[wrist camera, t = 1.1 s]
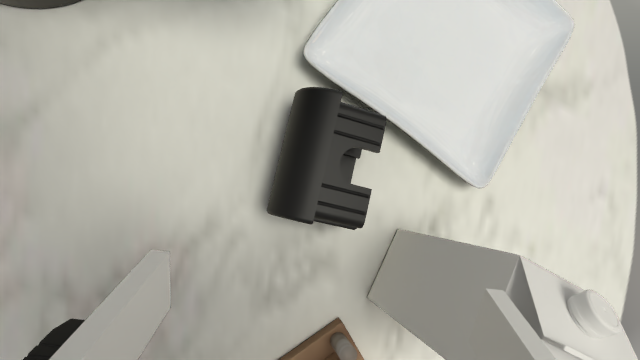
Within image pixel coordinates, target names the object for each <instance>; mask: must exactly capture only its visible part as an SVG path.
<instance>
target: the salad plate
mask: <svg viewBox="0 0 640 360" xmlns="http://www.w3.org/2000/svg"><path fill="white" fill-rule="evenodd" d="M573 29H574V20H573V18H572V17H571V16H570V15H569V14H568V13H567V11H566V10H565V9H564V8H563V7H562V6H561V5H559V4H558V3H557V1H555V0H337V2H336V3H335V4H334V5H333V7H332V8H331V9H330V10H329V12H328V13H327V14H326V16H325V17H324V18H323V19H322V21H321V22H320V23H319V25H318V26H317V28H316V29H315V31H314V32H313V33H312V35H311V36H310V38H309V39H308V41H307V43H306V45H305V47H304V52H303V54H304V57H305V58H306V60H307V61H308V63H309V64H311V65H312V66H313V67H314V68H315V69H317V70H318V71H319V72H320V73H322V74H323V75H324V76H326V77H327V78H328V79H330V80H331V81H333V82H334V83H336V84H337V85H339V86H340V87H342V88H343V89H344V90H346V91H347V92H349V93H350V94H352V95H353V96H355V97H356V98H358V99H359V100H361V101H362V102H364V103H365V104H367V105H368V106H370V107H371V108H373V109H374V110H375V111H377V112H378V113H380V114H381V115H384V116H386V118H387V119H388V120H389V121H391V122H392V123H393V124H395V125H396V126H397V127H399V128H400V129H401V130H403V131H404V132H405V133H407V134H408V135H409V136H411V137H412V138H413V139H414V140H416V141H417V142H418V143H419V144H421V145H422V146H423V147H424V148H426V149H427V150H428V151H429V152H430V153H432V154H433V155H434V156H435V157H436V158H438V159H439V160H440V161H441V162H442V163H444V164H445V165H446V166H447V167H449V168H450V169H451V170H452V171H453V172H454V173H456V174H457V175H458V176H459V177H461V178H462V179H463V180H465V181H466V182H467V183H469V184H470V185H472V186H473V187H476V188H484V187H485V186H487V185H488V183H489V182H490V181H491V179H492V177H493V176H494V174H495V172H496V170H497V169H498V167H499V165H500V163H501V161H502V160H503V158H504V156H505V154H506V152H507V150H508V148H509V147H510V145H511V143H512V141H513V139H514V137H515V135H516V134H517V132H518V130H519V128H520V126H521V124H522V123H523V121H524V119H525V117H526V115H527V113H528V111H529V109H530V108H531V106H532V104H533V102H534V100H535V99H536V97H537V95H538V93H539V91H540V90H541V88H542V86H543V84H544V83H545V81H546V79H547V77H548V76H549V74H550V72H551V70H552V69H553V67H554V65H555V64H556V62H557V60H558V59H559V57H560V55H561V53H562V52H563V50H564V48H565V47H566V45H567V43H568V41H569V39H570V37H571V35H572V32H573Z"/></svg>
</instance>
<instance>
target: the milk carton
mask: <svg viewBox="0 0 640 360" xmlns="http://www.w3.org/2000/svg"><path fill="white" fill-rule="evenodd" d="M486 288H487V289H495V290H504V292H505V293H506V294H507V296H508V297H509V298H510V300H511V301H512V302H513V303H514V305H515V306H516V307H517V309H518V310H519V311H520V313H521V314H522V315H523V317H524V318H525V319H526V321H527V322H528V323H529V324H530V326H531V327H532V328H533V330H534V331H535V332H536V334H537V335H538V336H539V338H540V339H541V340H542V342H543V343H544V344H545V346H546V347H547V348H548V349H549V351H550V352H551V353H552V355H553V356H554V357H555V359H556V360H638V359H637V356H636V354H635V352H634V350H633V348H632V346H631V344H630V342H629V339H628V337H627V336H626V333H625V331H624V329H623V327H622V325H621V323H620V320H619V318H618V316H617V314H616V312H615V310H614V308H613V307H612V306H611V305H610V303H609V302H608V301H607V300H606V299H605V298H604V297H603V296H601V295H600V294H599V293H597V292H595V291H593V290H583V289H581V288H580V287H578V286H576V285H574V284H572V283H570V282H569V281H567V280H565V279H563V278H561V277H560V276H558V275H556V274H554V273H552V272H551V271H549V270H547V269H545V268H543V267H541V266H540V265H538V264H536V263H534V262H532V261H530V260H528V259H527V258H525V257H522V256H520V255H517V254H512V253H508V252H504V251H499V250H494V249H490V248H485V247H481V246H476V245H471V244H467V243H462V242H457V241H453V240H448V239H443V238H439V237H434V236H430V235H425V234H420V233H416V232H411V231H406V230H402V229H398V230H397V232H396V235H395V237H394V239H393V241H392V243H391V246H390V248H389V250H388V252H387V255H386V257H385V259H384V261H383V263H382V266H381V268H380V270H379V272H378V275H377V277H376V279H375V281H374V283H373V286H372V288H371V290H370V292H369V295H368V297H367V298H368V299H369V300H370V301H372V302H373V303H374V304H375V305H377V306H378V307H379V308H381V309H382V310H383V311H384V312H386V313H387V314H388V315H389V316H391V317H392V318H393V319H395V320H396V321H397V322H398V323H400V324H401V325H402V326H403V327H405V328H406V329H407V330H409V331H410V332H411V333H412V334H414V335H415V336H416V337H417V338H419V339H420V340H421V341H423V342H424V343H425V344H426V345H428V346H429V347H430V348H431V349H433V350H434V351H435V352H437V353H438V354H439V355H440V356H442V357H443V358H444V359H445V360H478V359H477V357H476V355H475V353H474V351H473V349H472V347H471V345H470V343H469V338H470V335H471V332H472V329H473V326H474V322H475V319H476V316H477V313H478V310H479V307H480V304H481V301H482V298H483V295H484V292H485V289H486Z"/></svg>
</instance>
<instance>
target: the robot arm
mask: <svg viewBox="0 0 640 360" xmlns="http://www.w3.org/2000/svg"><path fill="white" fill-rule="evenodd" d="M77 1H80V0H0V3H1V4H5V5H10V6H15V7H23V8H51V7H58V6H63V5H67V4H71V3H74V2H77ZM170 308H171V285H170V251H161V250H153V249H151V250H150V251H149V252H148V253H147V254H146V255H145V256H144V258H143V259H142V260H141V261H140V262H139V263H138V264H137V265H136V266H135V267H134V268H133V269H132V270H131V272H130V273H129V274H128V275H127V276H126V277H125V278H124V279H123V280H122V281H121V282H120V283H119V285H118V286H117V287H116V288H115V289H114V290H113V291H112V292H111V293H110V294H109V295H108V296H107V297H106V299H105V300H104V301H103V302H102V303H101V304H100V305H99V306H98V307H97V308H96V309H95V310H94V312H93V313H92V314H91V315H90V316H89V317H88V318H87V319H86V320H78V319H70V320H68V321H66V322H65V323H63V324H61V325H60V326H58V327H56V328H55V329H53V330H52V331H51V332H50V333H49V334H48V335H47V336H46V337H45V338H44V339H43V340H42V341H41V342H40V343H39V345H38V346H36V347H35V348H34V349H33V350H32V351H31V352H30V353H29V354H28V356H27V357H25V358H24V359H23V360H138V358H139V357H140V355H141V354H142V352H143V350H144V349H145V347H146V346H147V344H148V343H149V341H150V339H151V338H152V336H153V335H154V333H155V331H156V330H157V328H158V327H159V325H160V323H161V322H162V320H163V319H164V317H165V316H166V314H167V312H168V311H169V309H170ZM469 343H470V345H471V347H472V349H473V351H474V353H475V355H476V357H477V359H478V360H556V359H555V357H554V356H553V355H552V353H551V352H550V351H549V349H548V348H547V347H546V346H545V344H544V343H543V342H542V340H541V339H540V338H539V336H538V335H537V334H536V332H535V331H534V330H533V328H532V327H531V326H530V324H529V323H528V322H527V321H526V319H525V318H524V317H523V315H522V314H521V313H520V311H519V310H518V309H517V307H516V306H515V305H514V303H513V302H512V301H511V300H510V298H509V297H508V296H507V294H506V293H505V292H504V290H495V289H487V288H486V289H485V292H484V295H483V298H482V301H481V304H480V307H479V310H478V313H477V316H476V319H475V322H474V326H473V329H472V332H471V335H470V338H469Z"/></svg>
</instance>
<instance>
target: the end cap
mask: <svg viewBox="0 0 640 360" xmlns="http://www.w3.org/2000/svg"><path fill="white" fill-rule="evenodd" d="M341 98H342V92H341V91H337V90H333V89H328V88H321V87H307V88H302V89H300V90H298V91H297V92H296V93H295V96H294V100H293V104H292V108H291V112H290V117H289V121H288V125H287V129H286V133H285V137H284V141H283V146H282V150H281V154H280V158H279V162H278V166H277V171H276V175H275V179H274V183H273V187H272V191H271V195H270V200H269V204H268V208H267V212H268V213H269V214H271V215H275V216H278V217H282V218H286V219H290V220H294V221H298V222H303V223H307V224H312V223H313V221H316V222H321V223H325V224H330V225H334V226H339V227H343V228H348V229H352V230H355V229H357V228H362V227H363V225H364V222H365V218H366V214H367V209H368V204H369V200H370V195H371V190H372V189H368V188H365V187H361V186H357V185H353V184H350V183H351V179H352V174H353V170H354V165H355V161H356V158H360V155H361V151H362V149H364V150H368V151H372V152H375V153H379V152H380V148H381V144H382V139H383V134H384V130H385V125H386V116H384V115H381V114H377V113H374V112H371V111H368V110H364V109H361V108H358V107H354V106H351V105H348V104H345V103H341Z"/></svg>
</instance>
